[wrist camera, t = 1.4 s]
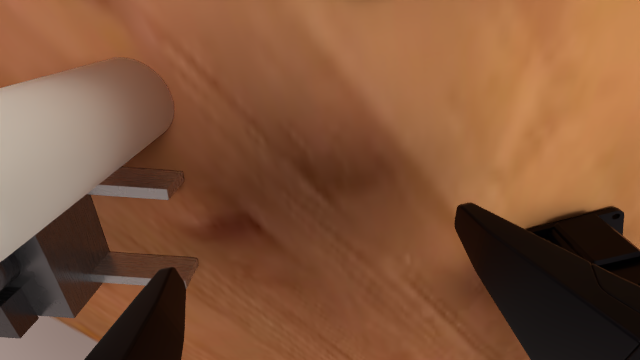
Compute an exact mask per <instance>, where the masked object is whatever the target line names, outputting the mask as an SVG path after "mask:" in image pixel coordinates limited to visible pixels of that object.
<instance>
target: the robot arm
mask: <svg viewBox="0 0 640 360" xmlns="http://www.w3.org/2000/svg"><path fill="white" fill-rule="evenodd" d="M623 222H624V212H622V211H621V210H620V209H618V208H609V209H605V210H601V211H598V212H594V213H590V214H586V215H582V216H578V217H574V218H570V219H566V220H562V221H558V222H555V223H551V224H547V225H543V226H539V227H535V228H531V229H528V230H525V229H523V228H521V227H519V226H517V225H515V224H513V223H511V222H509V221H507V220H505V219H503V218H501V217H499V216H497V215H495V214H493V213H491V212H489V211H487V210H485V209H483V208H481V207H479V206H478V205H476V204H473V203H465V204H461V205H459V206H458V207H457V211H456V217H455V229H456V232H457V234H458V236H459V238H460V240H461V242H462V244H463V246H464V248H465V250H466V252H467V255H468V257H469V259H470V261H471V263H472V265H473V267H474V269H475V271H476V273H477V274H478V276H479V278H480V279H481V281H482V282H483V284H484V286H485V287H486V289H487V290H488V292H489V294H490V295H491V297H492V298H493V300H494V302H495V303H496V305H497V306H498V308H499V310H500V311H501V313H502V314H503V316H504V318H505V319H506V321H507V322H508V324H509V326H510V327H511V329H512V330H513V332H514V334H515V335H516V337H517V338H518V340H519V342H520V343H521V345H522V346H523V348H524V350H525V351H526V353H527V354H528V356H529V358H530V359H531V360H640V250H639V249H638V248H637V247H636V246H635V245H633V244H632V243H631V242H630V241H628V240H627V239H626V238H625V237H624V236H623ZM185 302H186V286H185V283H184V281H183V279H182V278H181V276H180V275H179V273H178V271H177V270H176V268H174V267H168V268H163V269H160V270H159V271H158V272H157V273H156V274H155V275H154V276H153V277H152V279H151V280H150V281H149V282H148V284H147V285H146V286H145V287H144V288H143V290H142V291H141V292H140V293H139V294H138V296H137V297H136V298H135V299H134V300H133V302H132V303H131V304H130V305H129V306H128V308H127V309H126V310H125V311H124V312H123V314H122V315H121V316H120V317H119V318H118V320H117V321H116V322H115V323H114V324H113V326H112V327H111V328H110V329H109V330H108V332H107V333H106V334H105V335H104V336H103V338H102V339H101V340H100V341H99V342H98V344H97V345H96V346H95V347H94V348H93V350H92V351H91V352H90V353H89V355H88V356H87V357H86V358H85V360H181V356H182V350H183V342H184V330H185Z"/></svg>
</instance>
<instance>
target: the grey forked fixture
mask: <svg viewBox="0 0 640 360" xmlns="http://www.w3.org/2000/svg"><path fill="white" fill-rule="evenodd" d="M183 182H184V177H183V171H171V170H157V169H143V168H129V167H120V168H119V169H118V170H116V171H115V172H114V173H112V174H111V175H110V176H109V177H107V178H106V179H105V180H104V181H102V182H101V183H100V184H99V185H97V186H96V187H95V188H94V189H92V190H91V191H90V192H89V193H87V194H86V195H85V196H83V197H82V198H81V199H80V200H78V201H77V202H76V203H75V204H73V205H72V206H71V207H70V208H68V209H67V210H66V211H65V212H63V213H62V214H61V215H60V216H58V217H57V218H56V219H55V220H53V221H52V222H51V223H49V224H48V225H47V226H46V227H44V228H43V229H42V230H41V231H39V232H38V233H37V234H36V235H34V236H33V237H32V238H31V239H29V240H28V241H27V242H26V243H24V244H23V245H22V246H20V247H19V248H18V249H17V250H15V251H14V252H13V253H12V254H10V255H9V256H8V257H7V258H5V259H4V260H3V261H1V262H0V337H8V338H21V337H22V336H23V335H24V334H25V333H26V332H27V330H28V329H29V328H30V327H31V326H32V325H33V324H34V323H35V322H36V321H37V320H38V316H37V315H39V316H52V317H67V318H75V317H76V316H77V314H78V313H79V312H80V311H81V309H82V308H83V307H84V306H85V304H86V303H87V302H88V301H89V299H90V298H91V297H92V296H93V294H94V293H95V292H96V291H97V290H98V288H99V287H100V286H101V285H102V283H118V284H132V285H147V284H148V282H149V281H150V280H151V279H152V277H153V276H154V275H155V274H156V273H157V272H158V271H159V270H160V269H163V268H168V267H174V268H176V270H177V271H178V273H179V275H180V276H181V278H182V279H183V281H184V283H185V286H186V288H187V287H188V285H189V283H190V281H191V279H192V277H193V275H194V273H195V271H196V269H197V267H198V261H197V258H190V257H175V256H161V255H146V254H132V253H118V252H109V249H108V246H107V243H106V240H105V237H104V234H103V231H102V228H101V225H100V222H99V220H98V217H97V214H96V211H95V208H94V205H93V202H92V199H91V196H90V194H91V195H105V196H119V197H134V198H148V199H162V200H169V199H170V198H171V197H172V195H173V194H174V193H175V192H176V190H177V189H178V188H179V187H180V186H181V184H182V183H183Z"/></svg>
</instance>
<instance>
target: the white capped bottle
mask: <svg viewBox="0 0 640 360" xmlns="http://www.w3.org/2000/svg"><path fill="white" fill-rule="evenodd" d="M173 117H174V103H173V99H172V96H171V93H170V91H169V89H168V87H167V85H166V84H165V82H164V81H163V80H162V79H161V77H160V76H159V75H158V74H157V73H156V72H155V71H153V70H152V69H151V68H150V67H148V66H146V65H145V64H143V63H141V62H139V61H136V60H133V59H129V58H122V57H118V58H111V59H107V60H103V61H100V62H96V63H92V64H89V65H85V66H81V67H77V68H74V69H70V70H66V71H62V72H59V73H55V74H51V75H47V76H44V77H40V78H36V79H33V80H29V81H25V82H21V83H18V84H14V85H10V86H6V87H3V88H0V262H1V261H3V260H4V259H5V258H7V257H8V256H9V255H10V254H12V253H13V252H14V251H15V250H17V249H18V248H19V247H20V246H22V245H23V244H24V243H26V242H27V241H28V240H29V239H31V238H32V237H33V236H34V235H36V234H37V233H38V232H39V231H41V230H42V229H43V228H44V227H46V226H47V225H48V224H49V223H51V222H52V221H53V220H55V219H56V218H57V217H58V216H60V215H61V214H62V213H63V212H65V211H66V210H67V209H68V208H70V207H71V206H72V205H73V204H75V203H76V202H77V201H78V200H80V199H81V198H82V197H83V196H85V195H86V194H87V193H89V192H90V191H91V190H92V189H94V188H95V187H96V186H97V185H99V184H100V183H101V182H102V181H104V180H105V179H106V178H107V177H109V176H110V175H111V174H112V173H114V172H115V171H116V170H118V169H119V168H120V167H121V166H123V165H124V164H125V163H126V162H128V161H129V160H130V159H131V158H133V157H134V156H135V155H136V154H138V153H139V152H140V151H141V150H143V149H144V148H145V147H147V146H148V145H149V144H150V143H152V142H153V141H154V140H155V139H157V138H158V137H159V136H160V135H162V134H163V133H164V132H165V131H166V130H167V129H168V128H169V126H170V125H171V123H172V120H173Z"/></svg>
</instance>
